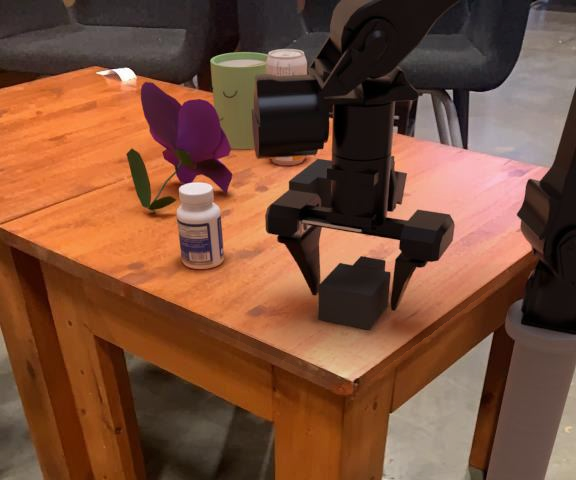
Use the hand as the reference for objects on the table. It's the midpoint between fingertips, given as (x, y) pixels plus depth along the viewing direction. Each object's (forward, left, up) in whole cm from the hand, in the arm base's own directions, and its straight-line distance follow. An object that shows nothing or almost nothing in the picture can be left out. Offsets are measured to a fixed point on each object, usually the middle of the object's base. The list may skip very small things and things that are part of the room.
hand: (354, 301), depth 84 cm
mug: (+38, -49, -2) cm, 62 cm away
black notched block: (+14, -29, -1) cm, 32 cm away
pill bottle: (+22, -5, -2) cm, 23 cm away
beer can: (+28, -43, -2) cm, 51 cm away
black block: (0, -1, -1) cm, 2 cm away
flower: (+35, -21, -2) cm, 41 cm away
